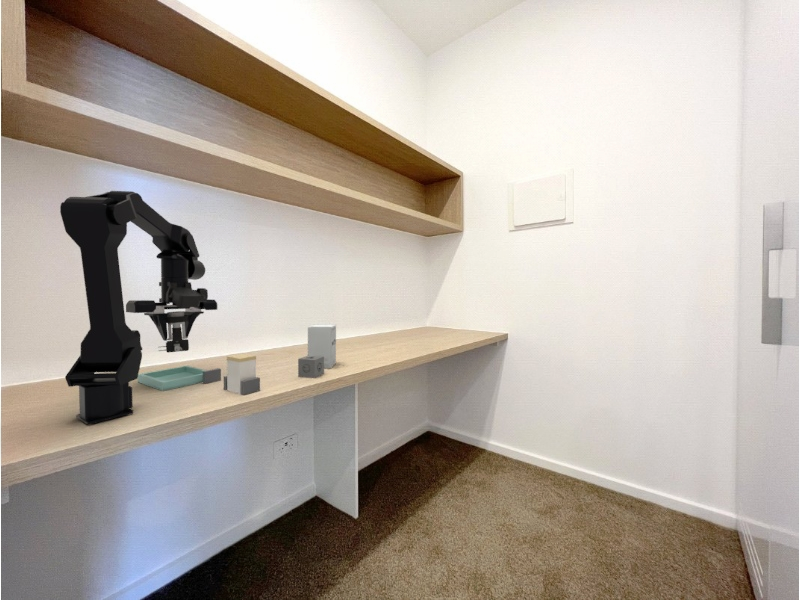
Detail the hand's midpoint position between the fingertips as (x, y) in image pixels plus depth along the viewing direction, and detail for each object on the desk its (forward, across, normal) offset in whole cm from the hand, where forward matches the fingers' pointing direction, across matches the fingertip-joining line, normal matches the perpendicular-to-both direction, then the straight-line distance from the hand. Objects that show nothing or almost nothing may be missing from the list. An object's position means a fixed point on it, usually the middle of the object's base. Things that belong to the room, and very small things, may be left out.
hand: (175, 339), depth 84 cm
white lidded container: (+11, +5, -21) cm, 24 cm away
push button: (+3, 0, 0) cm, 3 cm away
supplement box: (+11, +33, -19) cm, 39 cm away
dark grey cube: (+11, +23, -24) cm, 35 cm away
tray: (+11, 0, 0) cm, 11 cm away
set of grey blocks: (+11, +5, -16) cm, 20 cm away
